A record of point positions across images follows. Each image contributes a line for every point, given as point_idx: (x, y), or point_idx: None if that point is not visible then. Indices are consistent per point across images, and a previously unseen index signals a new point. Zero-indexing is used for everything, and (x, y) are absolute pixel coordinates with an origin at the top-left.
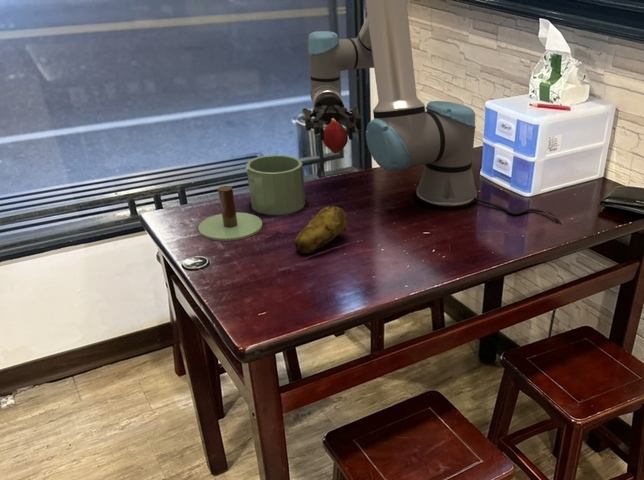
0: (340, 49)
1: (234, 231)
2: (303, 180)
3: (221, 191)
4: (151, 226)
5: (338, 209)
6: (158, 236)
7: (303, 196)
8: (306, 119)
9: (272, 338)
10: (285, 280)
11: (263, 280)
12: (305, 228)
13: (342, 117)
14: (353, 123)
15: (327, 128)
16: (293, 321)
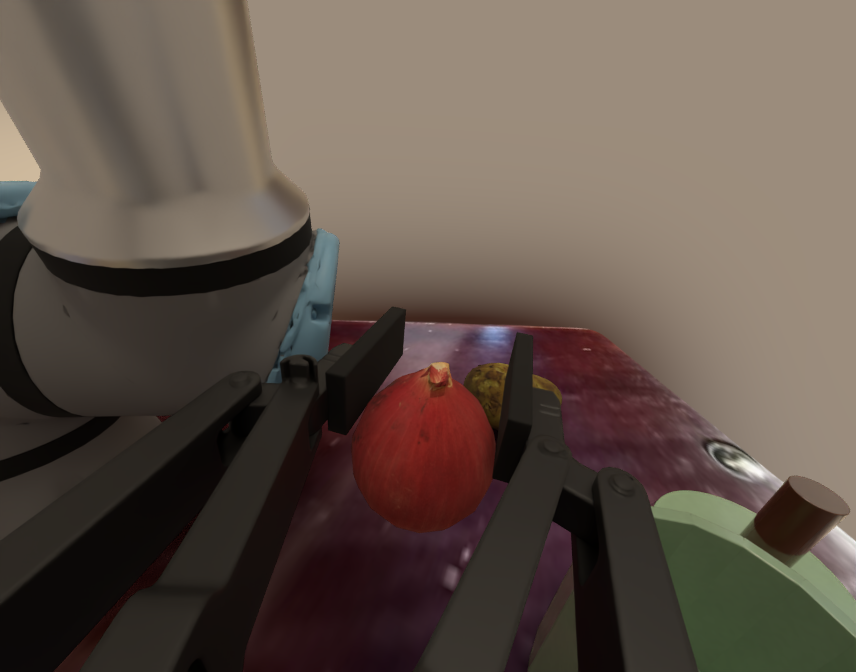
0: None
1: (714, 521)
2: (555, 617)
3: (814, 482)
4: None
5: (485, 366)
6: None
7: (543, 625)
8: (629, 475)
9: (572, 328)
10: (567, 378)
11: (597, 387)
12: (546, 387)
13: (271, 509)
14: (321, 367)
15: (476, 400)
16: (554, 334)
